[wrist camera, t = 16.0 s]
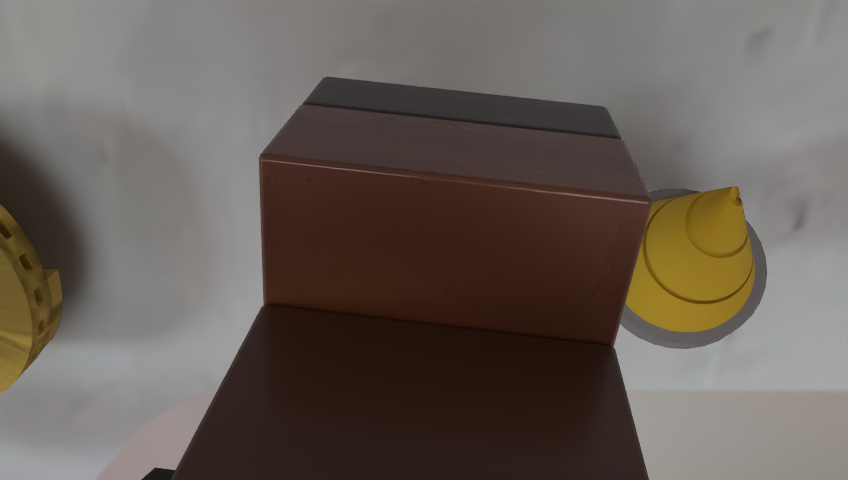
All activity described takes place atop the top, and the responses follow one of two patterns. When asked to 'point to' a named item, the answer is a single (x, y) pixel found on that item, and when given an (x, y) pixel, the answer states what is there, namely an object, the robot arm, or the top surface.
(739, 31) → the top surface
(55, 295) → the yellow round disc
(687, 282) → the drill bit
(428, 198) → the brown stepped block
